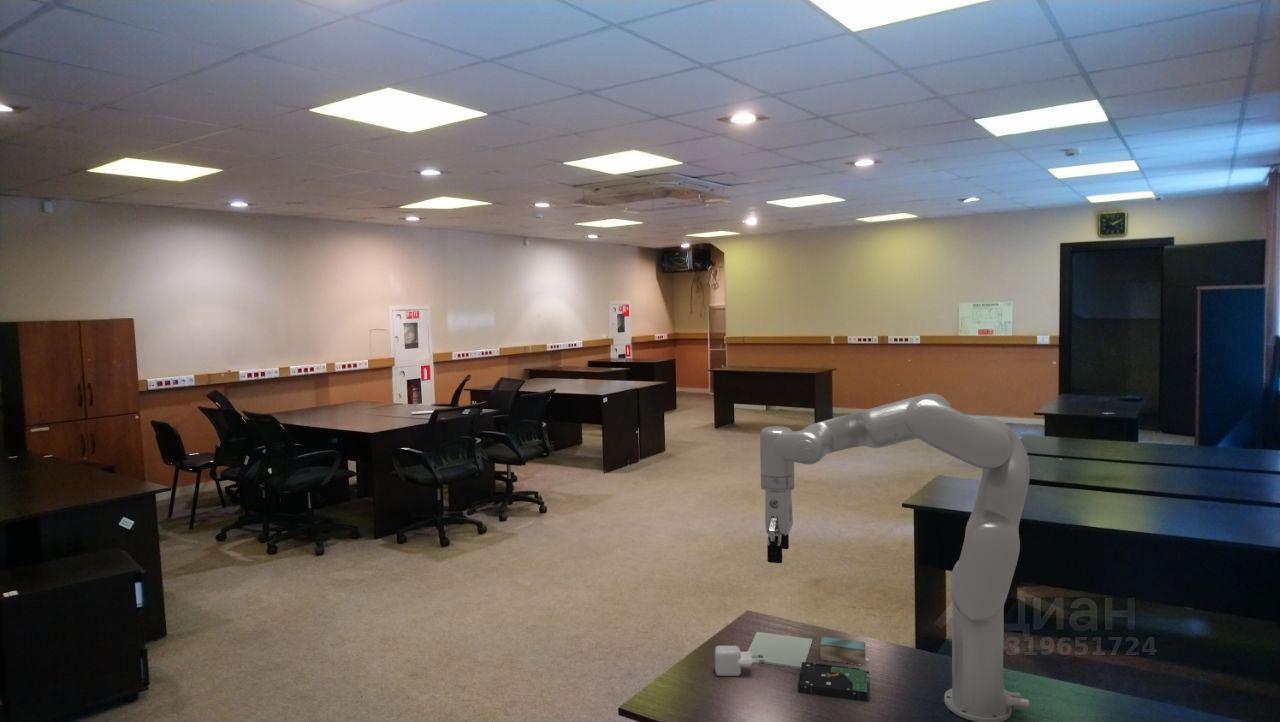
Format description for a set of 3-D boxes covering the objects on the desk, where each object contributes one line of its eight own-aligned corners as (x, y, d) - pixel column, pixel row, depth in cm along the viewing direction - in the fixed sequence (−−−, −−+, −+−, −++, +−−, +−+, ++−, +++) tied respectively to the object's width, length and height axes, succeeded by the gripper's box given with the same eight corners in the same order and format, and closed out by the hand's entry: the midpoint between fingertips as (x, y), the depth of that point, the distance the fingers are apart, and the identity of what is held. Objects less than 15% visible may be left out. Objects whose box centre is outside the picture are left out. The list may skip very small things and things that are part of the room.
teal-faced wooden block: (865, 658, 172) (865, 642, 172) (864, 666, 168) (864, 649, 168) (822, 653, 175) (822, 636, 175) (820, 660, 172) (820, 644, 171)
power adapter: (763, 667, 169) (762, 643, 168) (765, 678, 164) (764, 653, 163) (714, 667, 169) (714, 643, 169) (715, 678, 165) (715, 653, 164)
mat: (812, 641, 181) (812, 639, 181) (803, 669, 167) (803, 667, 167) (757, 634, 186) (756, 631, 186) (744, 660, 172) (744, 658, 172)
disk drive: (797, 696, 157) (869, 704, 153) (797, 683, 157) (869, 691, 153) (801, 672, 167) (869, 680, 163) (801, 661, 167) (868, 667, 162)
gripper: (788, 491, 155) (789, 570, 156) (799, 473, 171) (800, 544, 172) (753, 489, 157) (754, 566, 159) (767, 472, 174) (768, 542, 175)
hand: (778, 555), depth 165 cm, fingers open, 9 cm apart
